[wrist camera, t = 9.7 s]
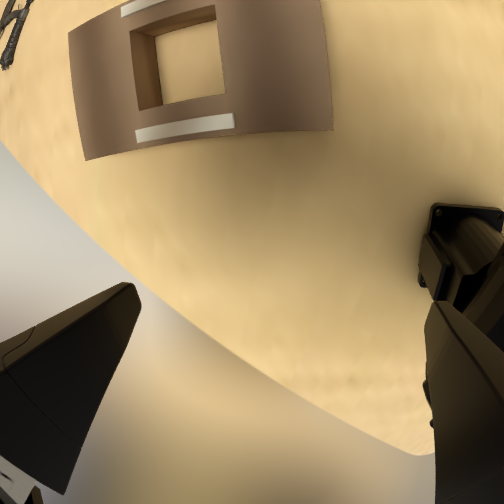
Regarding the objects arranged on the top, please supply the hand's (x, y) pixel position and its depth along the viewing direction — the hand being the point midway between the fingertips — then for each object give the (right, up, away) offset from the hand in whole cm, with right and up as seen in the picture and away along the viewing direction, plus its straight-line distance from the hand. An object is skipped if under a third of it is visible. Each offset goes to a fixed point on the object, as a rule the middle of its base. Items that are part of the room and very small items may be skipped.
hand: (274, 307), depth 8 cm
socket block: (-4, +14, +7) cm, 16 cm away
